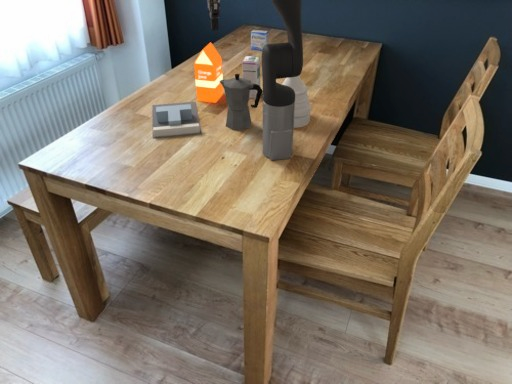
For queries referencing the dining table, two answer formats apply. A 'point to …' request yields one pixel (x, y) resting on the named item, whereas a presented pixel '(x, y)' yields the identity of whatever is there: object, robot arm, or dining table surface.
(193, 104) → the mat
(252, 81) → the syrup box
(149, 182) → the dining table surface
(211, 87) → the orange juice
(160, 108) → the t block
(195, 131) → the rail
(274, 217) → the dining table surface
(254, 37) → the medicine box
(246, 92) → the coffeepot
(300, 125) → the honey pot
